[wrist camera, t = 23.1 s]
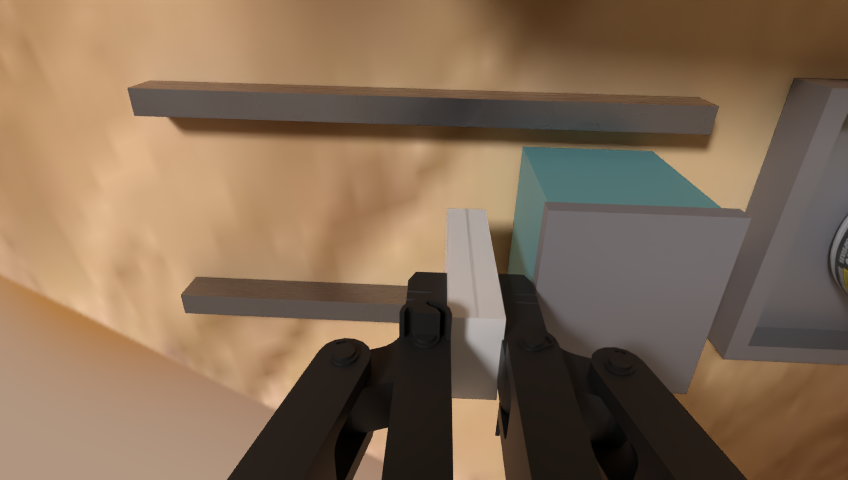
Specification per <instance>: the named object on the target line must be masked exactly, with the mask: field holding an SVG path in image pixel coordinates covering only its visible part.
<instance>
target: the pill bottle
mask: <svg viewBox="0 0 848 480" xmlns="http://www.w3.org/2000/svg"><path fill="white" fill-rule="evenodd" d="M830 263H831V269H832V273H833V276H834V278H835V280H836V282H837V283H838V285H839V286H840V288H841V289H842V290H843V291H844V292H845V293H846V294H847V295H848V216H847V217H846V218H845V220H844V221H843V223H842V224H841V226H840V228H839V230H838V232H837V234H836V236H835V238H834V241H833V245H832V249H831V254H830Z"/></svg>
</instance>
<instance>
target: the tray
mask: <svg viewBox="0 0 848 480" xmlns="http://www.w3.org/2000/svg"><path fill="white" fill-rule="evenodd" d="M745 213H746V214H747V215H748V216H750V217H751V218H752V219H751V221H750V224H749V227H748V229H747V232H746V235H745V237H744V240H743V243H742V245H741V248H740V251H739V253H738V256H737V259H736V261H735V264H734V267H733V270H732V272H731V275H730V278H729V280H728V283H727V286H726V288H725V291H724V294H723V296H722V299H721V302H720V304H719V307H718V310H717V312H716V315H715V318H714V320H713V323H712V326H711V328H710V331H709V334H708V336H707V338H708V339H709V340H710V342H711V343H712V344H713V346H714V347H715V349H716V350H717V351H718V353H719V354H720V355H721V357H722V358H723V359H730V360H752V361H773V362H794V363H816V364H837V365H848V295H847V294H846V293H845V292H844V291H843V290H842V289H841V288H840V286H839V285H838V283H837V282H836V280H835V278H834V276H833V273H832V269H831V263H830V254H831V249H832V245H833V241H834V238H835V236H836V234H837V232H838V230H839V228H840V226H841V224H842V223H843V221H844V220H845V218H846V217H847V216H848V79H815V78H794V80H793V83H792V86H791V89H790V91H789V94H788V97H787V100H786V102H785V105H784V108H783V111H782V113H781V116H780V119H779V122H778V124H777V127H776V130H775V133H774V135H773V138H772V141H771V144H770V146H769V149H768V152H767V155H766V157H765V160H764V163H763V165H762V168H761V171H760V174H759V176H758V179H757V182H756V185H755V187H754V190H753V193H752V196H751V198H750V201H749V204H748V207H747V209H746V212H745Z"/></svg>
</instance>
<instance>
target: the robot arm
mask: <svg viewBox="0 0 848 480" xmlns="http://www.w3.org/2000/svg"><path fill="white" fill-rule="evenodd" d="M497 390H498V393H499V401H500V402H499V410H498V418H497V426H496V434H495V436H499V435H500V437H501V444H502V452H503V460H504V468H505V476H506V480H747V479H746V478H745V476H744V475H743V474H742V473H741V472H740V471H739V470H738V468H737V467H736V466H735V465H734V464H733V463H732V462H731V460H730V459H729V458H728V457H727V456H726V455H725V454H724V452H723V451H722V450H721V449H720V448H719V447H718V446H717V444H716V443H715V442H714V441H713V440H712V439H711V438H710V437H709V435H708V434H707V433H706V432H705V431H704V430H703V429H702V427H701V426H700V425H699V424H698V423H697V422H696V421H695V419H694V418H693V417H692V416H691V415H690V414H689V413H688V411H687V410H686V409H685V408H684V407H683V406H682V405H681V403H680V402H679V401H678V400H677V399H676V398H675V397H674V395H673V394H672V393H671V392H670V391H669V390H668V389H667V387H666V386H665V385H664V384H663V383H662V382H661V381H660V380H659V378H658V377H657V376H656V375H655V374H654V373H653V372H652V370H651V369H650V368H649V367H648V366H647V365H646V364H645V362H644V361H643V360H641V359H640V358H639V357H638V356H637V355H635V354H633V353H631V352H629V351H627V350H624V349H620V348H616V347H604V348H601V349H598V350H596V351H595V352H594V353H593V354H592V357H591V358H588V357H584V356H580V355H576V354H573V353H570V352H567V351H565V350H564V349H562V348H560V346H559V343H558V342H557V340H556V338H555V337H554V336H552V335H551V334H550V333H548V332H547V329H546V326H545V323H544V319H543V316H542V313H541V309H540V306H539V304H538V299H537V296H536V292H535V289H534V286H533V283H532V282H531V281H530V280H529V279H528V278H527V277H526V276H525V275H520V274H498V273H497V268H496V263H495V257H494V252H493V246H492V241H491V236H490V230H489V225H488V220H487V214H486V210H485V209H455V208H447V224H446V246H445V268H444V273H433V272H415V274H414V275H413V276H412V277H411V278H410V279H409V280H408V289H407V297H406V304H404V305H403V306H402V308H401V310H400V312H399V338H398V339H397V340H395V341H394V342H393V343H391V344H389V345H387V346H384V347H380V348H376V349H371V350H370V349H369V347H368V346H367V345H366V344H365V343H364V342H362V341H359V340H356V339H349V338H343V339H338V340H334V341H332V342H330V343H327V344H326V345H325V346H323V347H322V348H321V349H320V350H319V352H318V353H317V354H316V356H315V357H314V359H313V360H312V361H311V363H310V364H309V366H308V367H307V368H306V370H305V371H304V373H303V374H302V375H301V377H300V378H299V380H298V381H297V382H296V384H295V385H294V387H293V388H292V389H291V391H290V392H289V394H288V395H287V396H286V398H285V399H284V401H283V402H282V403H281V405H280V406H279V408H278V409H277V410H276V412H275V413H274V415H273V416H272V417H271V419H270V420H269V422H268V423H267V424H266V426H265V428H264V429H263V430H262V431H261V433H260V434H259V436H258V437H257V438H256V440H255V441H254V443H253V444H252V446H251V447H250V448H249V450H248V451H247V453H246V454H245V455H244V457H243V458H242V459H241V461H240V462H239V464H238V465H237V466H236V468H235V469H234V471H233V472H232V474H231V475H230V476H229V478H228V479H227V480H353V478H354V475H355V473H356V471H357V469H358V467H359V465H360V462H361V460H362V458H363V456H364V454H365V452H366V449H367V447H368V445H369V443H370V441H371V439H372V436H373V432H374V431H375V430H379V429H383V428H387V427H388V433H387V441H386V449H385V457H384V464H383V472H382V480H453V443H452V398H463V399H486V400H496V398H497Z"/></svg>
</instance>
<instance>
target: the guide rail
mask: <svg viewBox="0 0 848 480" xmlns="http://www.w3.org/2000/svg"><path fill="white" fill-rule="evenodd" d="M128 92H129V96H130V100H131V104H132V108H133V112H134V116H156V117H187V118H217V119H247V120H278V121H308V122H338V123H369V124H399V125H429V126H460V127H490V128H520V129H551V130H581V131H611V132H642V133H672V134H702V135H710V134H711V131H712V127H713V124H714V121H715V118H716V114H717V111H718V108H719V106H717V105H715V104H712V103H710V102H708V101H706V100H704V99H701V98H698V97H666V96H633V95H600V94H568V93H535V92H503V91H470V90H437V89H405V88H372V87H340V86H307V85H274V84H242V83H209V82H176V81H148V82H144V83H141V84H138V85H135V86H132V87H129V88H128ZM407 289H408V286H392V285H369V284H346V283H323V282H300V281H277V280H254V279H230V278H207V277H196V278H195V279H194V280H193V281H192V282H191V284H190V285H189V286H188V287H187V288H186V289H185V291H184V292H183V293H182V294H181V298H182V302H183V306H184V310H185V313H196V314H218V315H240V316H262V317H283V318H305V319H327V320H349V321H371V322H393V323H399V312H400V310H401V308H402V306H403V305H404V304H406V297H407Z"/></svg>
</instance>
